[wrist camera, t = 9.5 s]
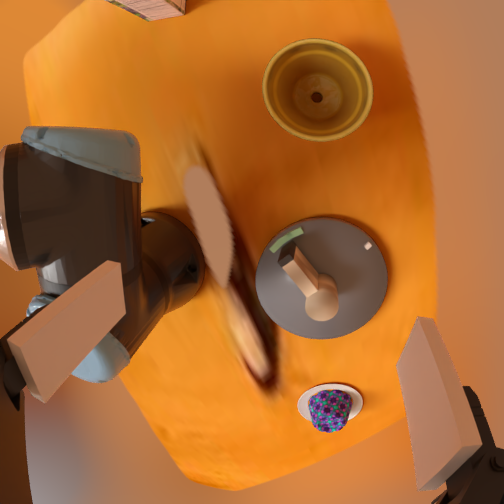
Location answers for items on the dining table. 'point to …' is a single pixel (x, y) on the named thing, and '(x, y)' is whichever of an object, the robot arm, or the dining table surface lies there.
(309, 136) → the plant pot
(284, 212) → the dining table surface
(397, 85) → the dining table surface
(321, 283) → the tuning peg
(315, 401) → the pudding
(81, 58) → the dining table surface
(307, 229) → the flat grey disc
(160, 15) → the syrup box
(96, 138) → the robot arm
